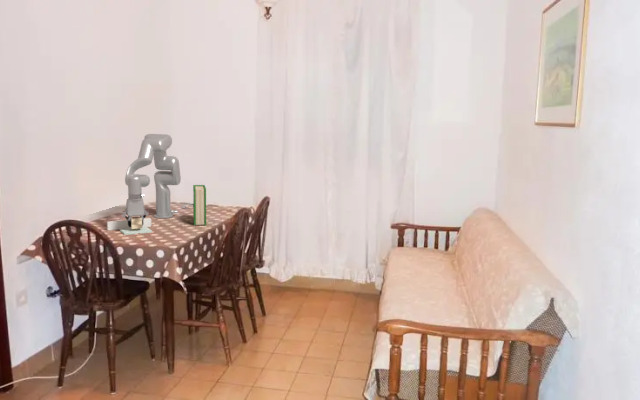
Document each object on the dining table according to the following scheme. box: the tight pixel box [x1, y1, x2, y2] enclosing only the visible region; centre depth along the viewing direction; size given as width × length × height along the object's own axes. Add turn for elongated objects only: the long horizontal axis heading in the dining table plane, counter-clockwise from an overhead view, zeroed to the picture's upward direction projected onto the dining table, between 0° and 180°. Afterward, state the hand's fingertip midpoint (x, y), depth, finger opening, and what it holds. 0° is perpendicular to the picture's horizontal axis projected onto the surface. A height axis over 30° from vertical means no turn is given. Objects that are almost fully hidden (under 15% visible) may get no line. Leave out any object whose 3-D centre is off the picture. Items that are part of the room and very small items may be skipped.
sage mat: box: [119, 227, 153, 236], centre depth 325 cm, size 16×12×1 cm
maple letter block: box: [130, 216, 142, 229], centre depth 324 cm, size 6×6×6 cm
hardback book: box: [192, 184, 207, 226], centre depth 352 cm, size 18×7×24 cm, turn 15°
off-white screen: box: [106, 217, 152, 231], centre depth 333 cm, size 26×2×5 cm, turn 123°
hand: (135, 226), depth 324 cm, fingers closed on maple letter block, 6 cm apart
